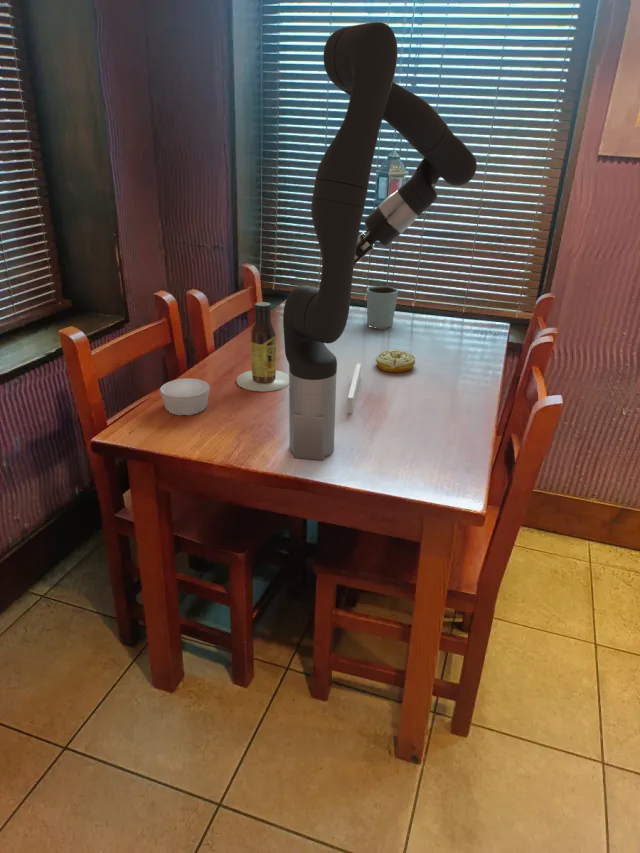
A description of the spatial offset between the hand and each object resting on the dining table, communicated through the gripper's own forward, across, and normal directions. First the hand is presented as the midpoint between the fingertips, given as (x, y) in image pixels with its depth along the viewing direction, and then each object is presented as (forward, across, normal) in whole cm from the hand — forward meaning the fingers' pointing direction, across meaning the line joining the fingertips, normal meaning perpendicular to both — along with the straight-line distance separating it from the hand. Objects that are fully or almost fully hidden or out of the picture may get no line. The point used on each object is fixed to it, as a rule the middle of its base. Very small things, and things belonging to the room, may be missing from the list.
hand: (336, 269), depth 134 cm
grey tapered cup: (+16, -59, +28) cm, 67 cm away
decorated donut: (+12, -22, +32) cm, 41 cm away
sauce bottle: (+35, -5, +8) cm, 36 cm away
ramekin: (+45, +14, -1) cm, 47 cm away
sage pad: (+35, -5, +8) cm, 36 cm away
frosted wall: (+18, -1, +26) cm, 31 cm away
